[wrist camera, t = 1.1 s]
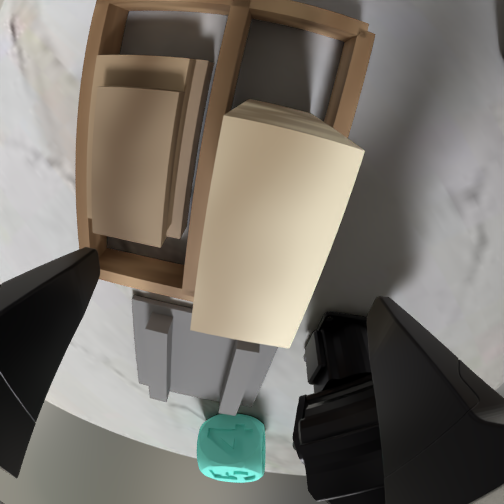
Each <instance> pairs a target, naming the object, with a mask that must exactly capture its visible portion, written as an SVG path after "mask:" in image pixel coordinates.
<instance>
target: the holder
mask: <svg viewBox="0 0 504 504" xmlns="http://www.w3.org/2000/svg"><path fill="white" fill-rule="evenodd" d="M192 310H193V309H192V308H187V307H183V306H178V305H174V304H170V303H165V302H161V301H157V300H153V299H149V298H145V297H141V296H137V295H134V296H133V298H132V312H133V327H134V340H135V351H136V361H137V370H138V379H139V383H140V384H143V385H147V386H149V395H150V398H152V399H156V400H160V401H164V402H167V399H168V395H169V391H171V392H175V393H179V394H184V395H188V396H193V397H197V398H202V399H208V400H213V401H218V402H220V404H219V412H218V413H221V414H227V415H233V416H236V414H237V411H238V409H239V406H240V405H242V406H249V407H252V406H253V403H254V401H255V399H256V397H257V395H258V392H259V390H260V388H261V386H262V383H263V381H264V379H265V376H266V374H267V372H268V369H269V367H270V365H271V362H272V360H273V358H274V355H275V353H276V351H277V348H278V347H276V346H270V345H264V344H258V343H253V342H247V341H242V340H236V339H231V338H226V337H221V336H216V335H211V334H206V333H201V332H197V331H192V330H190V328H191V319H192Z"/></svg>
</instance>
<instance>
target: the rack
mask: <svg viewBox="0 0 504 504" xmlns="http://www.w3.org/2000/svg"><path fill="white" fill-rule="evenodd" d="M129 11H187V12H201V13H212V14H221V15H228V19H227V23H226V27H225V31H224V35H223V40H222V44H221V48H220V52H219V57H218V61H217V66H216V71H215V75H214V80H213V85H212V90H211V95H210V100H209V105H208V110H207V115H206V121H205V126H204V132H203V137H202V143H201V149H200V155H199V161H198V167H197V174H196V180H195V187H194V194H193V201H192V208H191V216H190V223H189V231H188V239H187V248H186V257H185V265H182V264H177V263H173V262H168V261H164V260H159V259H155V258H150V257H146V256H141V255H137V254H132V253H128V252H124V251H119V250H115V249H111V248H107V236H105V235H100V234H96V233H93V229H92V219H90V218H87V142H88V126H89V113H90V103H91V94H92V86H93V78H94V71H95V64H96V58H97V55H120V49H121V44H122V39H123V34H124V30H125V25H126V21H127V17H128V13H129ZM252 19H255V20H261V21H266V22H271V23H276V24H281V25H285V26H290V27H294V28H298V29H302V30H306V31H310V32H313V33H317V34H320V35H324V36H327V37H331V38H334V39H337V40H340V41H343V42H344V46H343V50H342V54H341V58H340V62H339V66H338V70H337V74H336V78H335V82H334V86H333V89H332V93H331V97H330V101H329V105H328V108H327V112H326V116H325V119H324V122H325V123H326V124H328V125H329V126H331V127H332V128H334V129H335V130H336V131H338V132H339V133H341V134H342V135H344V136H345V137H346V138H348V136H349V132H350V129H351V126H352V122H353V119H354V115H355V112H356V108H357V104H358V101H359V97H360V93H361V90H362V86H363V82H364V78H365V75H366V71H367V67H368V63H369V59H370V55H371V51H372V47H373V42H374V38H375V34H373V33H371V32H368V31H367V30H368V26H369V24H368V23H365V22H362V21H359V20H357V19H354V18H351V17H348V16H345V15H342V14H339V13H336V12H333V11H329V10H326V9H322V8H319V7H315V6H312V5H308V4H304V3H300V2H296V1H291V0H97V1H96V5H95V9H94V13H93V17H92V22H91V26H90V31H89V36H88V41H87V46H86V52H85V58H84V64H83V71H82V78H81V86H80V95H79V106H78V118H77V134H76V210H77V226H78V239H79V249H82V248H84V247H89V248H94V249H96V250H97V251H98V256H99V264H100V277H99V279H101V280H105V281H109V282H112V283H116V284H120V285H124V286H128V287H132V288H136V289H140V290H144V291H148V292H152V293H156V294H161V295H165V296H169V297H174V298H178V299H182V300H187V301H191V302H194V294H195V286H196V279H197V271H198V264H199V257H200V250H201V243H202V236H203V230H204V223H205V217H206V210H207V204H208V198H209V192H210V186H211V180H212V175H213V169H214V163H215V158H216V153H217V147H218V142H219V137H220V131H221V126H222V121H223V116H224V115H225V114H226V113H228V112H229V111H231V108H232V103H233V98H234V94H235V89H236V85H237V80H238V76H239V71H240V67H241V62H242V58H243V54H244V50H245V45H246V41H247V37H248V33H249V29H250V25H251V21H252Z"/></svg>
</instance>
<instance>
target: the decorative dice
mask: <svg viewBox="0 0 504 504" xmlns="http://www.w3.org/2000/svg"><path fill="white" fill-rule="evenodd" d="M197 461H198V466H199V469H200V471H201V472H202V473H203V474H204V475H206V476H208V477H210V478H213V479H216V480H220V481H226V482H251V481H256V480H258V479H260V478H261V477H262V476H263V475H264V471H265V428H264V424H263V423H262V422H260V421H259V420H258V419H256V418H254V417H251V416H248V415H244V414H236V416H233V415H227V414H218V415H215V416H213V417H211V418H210V419H208V420H207V421H205V422H204V423H203V424H202V426H201V428H200V431H199V434H198V440H197Z"/></svg>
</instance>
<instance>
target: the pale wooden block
mask: <svg viewBox="0 0 504 504" xmlns="http://www.w3.org/2000/svg"><path fill="white" fill-rule="evenodd" d="M364 152H365V151H364V150H363V149H362V148H360V147H359V146H358V145H356V144H355V143H353V142H352V141H351V140H349V139H348V138H346V137H345V136H344V135H342V134H341V133H339V132H338V131H336V130H335V129H334V128H332V127H331V126H329V125H328V124H326V123H325V122H323V121H322V120H320V119H319V118H317V117H316V116H314V115H312V114H311V113H308V112H304V111H301V110H297V109H293V108H289V107H285V106H280V105H276V104H272V103H267V102H263V101H258V100H253V99H248V100H247V101H245V102H244V103H242V104H240V105H239V106H237V107H236V108H234V109H233V110H231V111H229V112H228V113H226V114H225V115H224V116H223V121H222V126H221V131H220V137H219V142H218V147H217V153H216V158H215V163H214V169H213V175H212V180H211V186H210V192H209V198H208V204H207V210H206V217H205V223H204V230H203V236H202V243H201V250H200V257H199V264H198V271H197V279H196V286H195V294H194V302H193V310H192V319H191V328H190V330H192V331H197V332H201V333H206V334H211V335H216V336H221V337H226V338H231V339H236V340H242V341H247V342H253V343H258V344H264V345H270V346H276V347H283V348H290V346H291V343H292V341H293V339H294V337H295V334H296V332H297V330H298V328H299V325H300V323H301V321H302V318H303V316H304V314H305V311H306V309H307V307H308V304H309V302H310V300H311V297H312V295H313V292H314V290H315V287H316V285H317V283H318V280H319V278H320V275H321V273H322V270H323V268H324V265H325V263H326V260H327V257H328V255H329V252H330V250H331V247H332V244H333V242H334V239H335V236H336V234H337V231H338V228H339V226H340V223H341V220H342V217H343V215H344V212H345V209H346V206H347V203H348V200H349V198H350V195H351V192H352V189H353V186H354V183H355V180H356V177H357V174H358V171H359V168H360V165H361V162H362V159H363V156H364Z"/></svg>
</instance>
